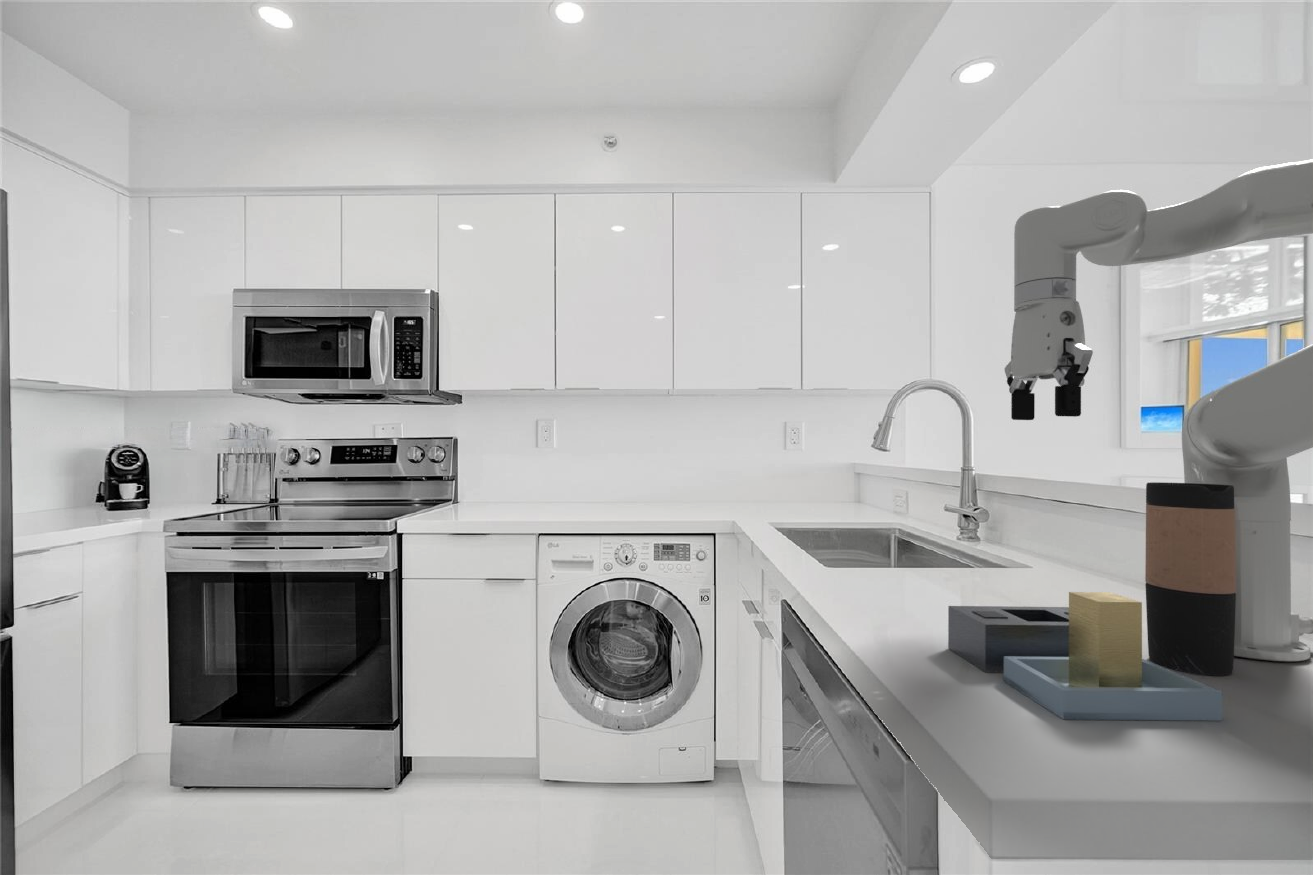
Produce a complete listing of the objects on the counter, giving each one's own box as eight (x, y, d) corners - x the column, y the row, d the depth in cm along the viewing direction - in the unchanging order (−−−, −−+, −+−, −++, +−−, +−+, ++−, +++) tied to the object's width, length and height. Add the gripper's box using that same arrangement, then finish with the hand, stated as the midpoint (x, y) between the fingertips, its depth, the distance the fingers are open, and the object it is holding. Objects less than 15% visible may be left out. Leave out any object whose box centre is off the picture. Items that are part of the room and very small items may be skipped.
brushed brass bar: (1109, 685, 61) (1109, 592, 61) (1142, 701, 57) (1141, 602, 57) (1068, 684, 61) (1068, 591, 61) (1098, 701, 57) (1098, 601, 57)
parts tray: (1139, 682, 63) (1139, 657, 63) (1222, 720, 54) (1221, 691, 54) (1003, 681, 63) (1003, 656, 63) (1063, 719, 54) (1063, 690, 54)
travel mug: (1151, 649, 74) (1150, 481, 75) (1238, 665, 69) (1237, 484, 69) (1140, 664, 69) (1139, 483, 70) (1234, 683, 64) (1233, 486, 64)
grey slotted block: (1082, 649, 74) (1082, 606, 74) (1135, 673, 66) (1135, 625, 66) (948, 648, 74) (948, 605, 74) (985, 672, 66) (985, 623, 66)
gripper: (1116, 282, 80) (1116, 415, 80) (1032, 312, 98) (1031, 421, 97) (1059, 280, 80) (1059, 414, 80) (984, 311, 97) (984, 420, 97)
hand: (1044, 418), depth 88 cm, fingers open, 9 cm apart
